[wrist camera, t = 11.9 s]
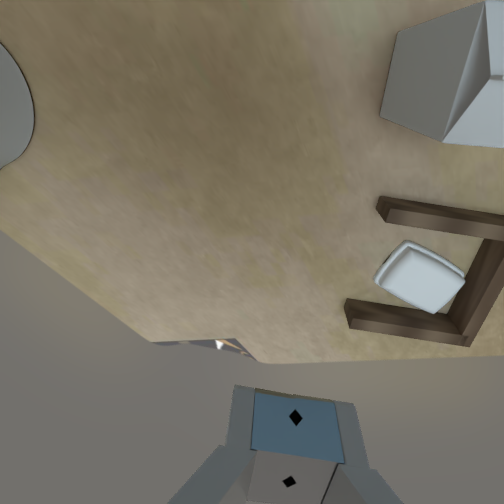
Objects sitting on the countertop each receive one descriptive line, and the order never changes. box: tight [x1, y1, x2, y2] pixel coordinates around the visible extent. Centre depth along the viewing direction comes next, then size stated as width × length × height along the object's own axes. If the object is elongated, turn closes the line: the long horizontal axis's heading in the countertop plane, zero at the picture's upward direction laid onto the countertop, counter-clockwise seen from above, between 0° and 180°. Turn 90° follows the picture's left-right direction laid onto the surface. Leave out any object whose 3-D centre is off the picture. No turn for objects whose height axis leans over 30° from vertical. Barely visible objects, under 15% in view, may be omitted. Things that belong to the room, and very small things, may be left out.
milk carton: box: [380, 0, 504, 148], centre depth 24 cm, size 7×7×19 cm
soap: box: [373, 240, 465, 314], centre depth 41 cm, size 9×7×3 cm
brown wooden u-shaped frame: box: [344, 196, 504, 347], centre depth 39 cm, size 14×15×4 cm
